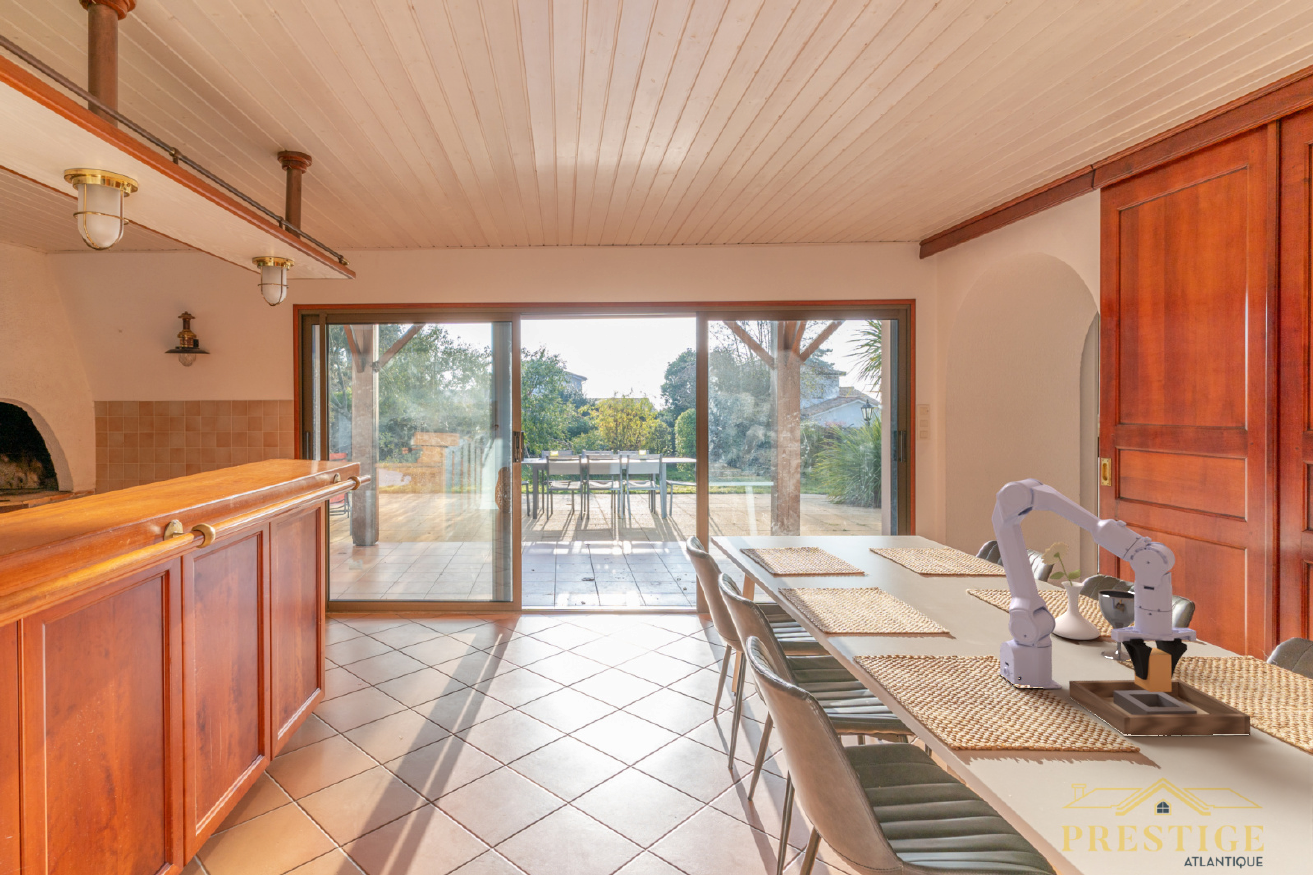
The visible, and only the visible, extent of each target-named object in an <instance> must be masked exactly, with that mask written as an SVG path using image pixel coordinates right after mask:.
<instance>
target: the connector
mask: <svg viewBox="0 0 1313 875" xmlns="http://www.w3.org/2000/svg"><path fill="white" fill-rule="evenodd" d="M1151 648H1152V651H1151V654H1150V657H1149V662H1148V677H1147V680H1143V679H1141V678H1139V677H1137V676H1136V674H1135V670H1134V671H1133V672H1134V680H1135V684H1137V685H1139V686H1140V687H1142V688H1144V689H1145V690H1147V691H1149V692H1172V685H1171V680H1172V679H1171V655H1170V654H1168V653H1166V652H1164V651H1162V650H1159V649H1157V647H1151Z"/></svg>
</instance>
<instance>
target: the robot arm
mask: <svg viewBox="0 0 1313 875" xmlns="http://www.w3.org/2000/svg"><path fill="white" fill-rule="evenodd" d="M995 496H996V501H995V504H994V509H993V511H992V515H991V523H992V526H993V531H994V535H995V538H996V542H997V548H998V551H999V555H1000V559H1001V562H1002V566H1003V570H1004V573H1005V577H1006V583H1007V585H1008V588H1009V589H1008V590H1009V593H1010V598H1011V600H1010V604H1009V607H1008V613H1009V622H1008V631H1009V632H1010V635H1011V636H1012V637H1013V638H1012V639H1010V640H1006V641H1003V642H1001V644H1000V647H999V663H1000V664H999V665H1000V667H999V668H1000V670H999V672H998V674H999V673H1000V674H1001V675H1003V676H1004V677H1005V678H1007V679H1008V680H1009V681H1010V682H1012V683H1013V684H1021V685H1030V687H1044V688H1043V689H1062V685H1061V684H1059V683H1058V682H1056V681H1055V680H1054V679H1053V650H1052V649H1053V645H1052V642H1053V641H1052V639H1051V635H1050V634H1053V631H1054V629H1055V626H1056V622H1055V618H1056V617H1054V615H1053V613H1052V612H1051V611H1050V610H1049V608H1048V607H1047V602H1046V601H1045V599H1044V598H1043V597H1042V596H1041V595H1040V594H1039V591H1038V587H1037V583H1036V579H1035V575H1034V572H1033V569H1032V565H1031V560H1030V556H1029V552H1028V549H1027V546H1026V542H1025V538H1024V534H1023V531H1022V527H1021V523H1022V521H1023V520H1024V519H1025V518H1026V517H1027V515H1029V513H1030V512H1031V511H1042V512H1043V511H1045V512H1047V511H1049V512H1053V513H1054V514H1056V515H1058V516H1060V517H1062V518H1064V519H1065V520H1068V521H1069V522H1071V523H1073V524H1074V525H1077V526H1078V527H1080V528H1082V529H1084V530H1085V531H1086V532H1089V533H1090V536H1091V537H1092V540H1093V542H1094V543H1095V544H1097V545H1098V546H1100V547H1102V548H1103V549H1105V550H1107V551H1108V552H1109V553H1111V554H1113V555H1115V556H1116V557H1118V558H1120V559H1121V560H1123V561H1125V562H1128V563H1129V566H1130V568H1131V569H1132V570H1133V572H1134V581H1133V582H1134V584H1133V585H1134V586H1133V587H1134V588H1133V589H1134V591H1133V593H1134V610H1135V621H1134V625H1132V626H1131V625H1130V626H1128V627H1125V628H1120V629H1114V628H1112V629H1111V630H1110V635H1111V636H1110V640H1113V641H1115V642H1116V643H1117V642H1121V645H1123V647H1124V648H1125V650H1126V653H1128V654H1129V656H1130V658H1131V661H1132V662H1131V663H1132V667H1133V669H1134V670H1135V672H1134V675H1135V674H1136V676H1137V677H1139V678H1141V679H1143V680H1147V677H1148V662H1149V657H1150V654H1151V651H1152V648H1153V647H1152V646H1149V645H1147V643H1146V642H1145V641H1149V642H1150V641H1154V642H1155V645H1156V648H1157V649H1159V650H1162V651H1164V652H1166V653H1168V654H1170V655H1171V680H1173V679H1172V678H1173V676H1174V673H1175V671H1176V668H1177V665H1178V663H1179V661H1180V660H1181V657H1182V656H1183V655H1184V654H1185V653H1186V652H1187V651H1188V645H1187V644H1186V643H1185V642H1182V641H1189V642H1196V641H1197V630H1194V629H1192V628H1190V627H1174V626H1173V584H1172V571H1171V570H1172V568H1173V567H1174V565H1175V564H1176V556H1175V554H1174V552H1173V551H1172V549H1170V548H1169V547H1168V546H1166V544H1164V543H1162V542H1158V541H1153V538H1151V537H1149V536H1143V535H1141V534H1139V533H1138V532H1136V531H1134V530H1132V529H1131V528H1129V527H1127V525H1128V524H1127V522H1125V521H1123V520H1120V519H1119V520H1117V521H1116V520H1115V519H1113V518H1109V519H1101V518H1099V517H1098V516H1096V515H1095V514H1093V513H1092V512H1090V511H1089V510H1088V509H1085V508H1084V507H1083V506H1082V505H1079V504H1078V503H1076V502H1075V501H1073V500H1072V499H1071V498H1069V497H1068V496H1065V495H1064V494H1063V493H1061V492H1059V491H1058V490H1056V489H1055V488H1054V487H1053V486H1050V485H1048V484H1044V483H1043V482H1042V481H1040V480H1039V479H1036V478H1029V477H1028V478H1025V479H1022V480H1017V481H1010V482H1007V483H1005V484H1004V485H1003V487H1002V486H1001V488H1000V489H999V491H998V492H996V494H995ZM1018 678H1020V679H1018Z"/></svg>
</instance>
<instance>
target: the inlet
mask: <svg viewBox="0 0 1313 875" xmlns="http://www.w3.org/2000/svg"><path fill="white" fill-rule="evenodd" d="M1113 696H1114V704H1116V705H1117V706H1119V707H1120V708H1122V709H1124V710H1125V711H1127V712H1128V713H1130V714H1131V715H1164V714H1197V711H1196V710H1194V709H1192V708H1191V707H1189V706H1187V705H1185V704H1184V703H1182V702H1180V701H1178V700H1176V699H1175V698H1173V697H1171V696H1169V695H1168V694H1166V693H1164V692H1149V691H1147V690H1128V691H1113Z"/></svg>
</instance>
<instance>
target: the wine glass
mask: <svg viewBox="0 0 1313 875" xmlns="http://www.w3.org/2000/svg"><path fill="white" fill-rule="evenodd" d="M1097 594H1098V605H1099V610H1100V613H1101V615H1102V616H1103V618H1104V620H1106V622H1107V623H1108V624H1109V625H1110V626H1111V627H1112V629H1120V628H1125V627H1130V626H1131V625H1132V624H1133V623H1135V610H1134V592H1132V591H1128V590H1122V589H1121V590H1120V589H1110V588H1109V589H1107V588H1106V589H1100V590H1098V593H1097ZM1100 655H1102V656H1103V657H1104V658H1107V659H1109V660H1113V661H1117V662H1124V661H1126V660H1128V659H1131V658H1130V656H1129V654H1128V652H1127V651H1126V652H1124V651H1123V650H1122V642H1117V641H1116V650H1112V649H1111V650H1103V651H1101V652H1100Z"/></svg>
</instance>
